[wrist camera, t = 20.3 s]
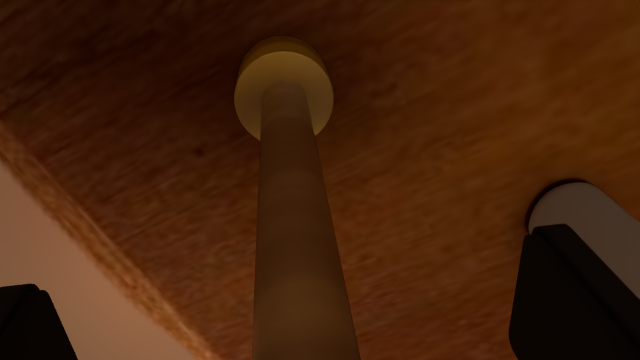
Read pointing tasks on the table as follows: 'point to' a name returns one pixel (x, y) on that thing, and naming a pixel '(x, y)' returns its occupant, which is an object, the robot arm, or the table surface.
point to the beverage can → (595, 226)
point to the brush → (293, 207)
